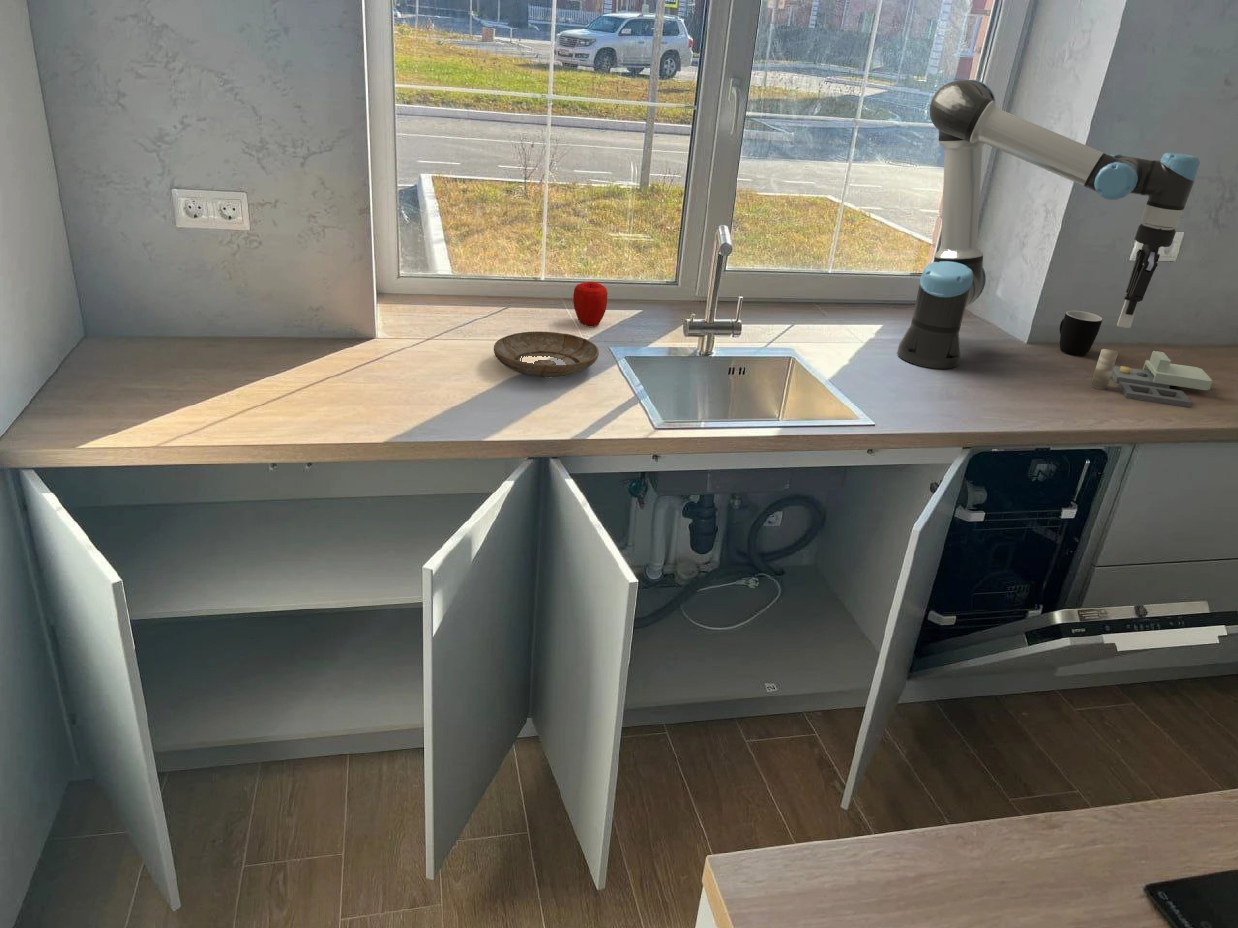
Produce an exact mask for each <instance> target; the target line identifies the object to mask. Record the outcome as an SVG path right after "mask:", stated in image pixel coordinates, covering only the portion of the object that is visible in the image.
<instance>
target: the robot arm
mask: <svg viewBox="0 0 1238 928" xmlns="http://www.w3.org/2000/svg"><path fill="white" fill-rule="evenodd" d="M929 118H930V120H931V123H932V124H933V126H934V127H935V129H936V130H938V144H939V145H941V147H943V149H944V161H943V163H944V164H943V182H942V183H943V186H942V187H943V189H942V210H941V213H942V215H941V235H940V237H941V239H940V240H941V241H940V244H941V245H940V248H939V250H938V251H937V252H936V253H935V254H934V257H933V262H930V263H928V264H927V265H926V266H925V267H924V268H923V271H922V274H921V275H920V278H919V279H920V280H919V285H918V291H917V296H916V301H915V305H914V310H913V313H912V318H911V322H910V324H909V327H908V329H907V331H906V332H905V334H904V335H903V337H902V339H901V341H899V344H898V346H897V352H896V355H897V354H898V355H899V356H900V357H901V358H902V360H903V359H904V360H903V361H905V360H906V361H905V362H908V363H909V362H910V364H912V363H913V365H916V366H920V367H924V368H930V369H937V370H938V369H943V370H944V369H947V370H948V369H952V368H956V367H958V366H959V364H960V361H961V356H962V353H961V341H960V340H961V339H960V330H961V326H962V323H963V318H964V314H965V311H966V308H967V307H969V305H970V304H973V303H974V302H975V301H976V300H977V299H978V298H980V295H981V294H982V293H983V291H984V289H985V286H986V282H987V279H986V278H987V277H986V271H985V269H984V266H983V265H984V253H983V252H982V250H980V248H979V247H978V238H979V237H978V236H979V235H978V233H979V221H980V220H979V217H980V215H979V214H980V200H981V199H980V197H981V196H980V195H981V193H980V192H981V180H982V179H981V178H982V177H981V176H982V158H983V157H982V156H983V147H984V145H988V146H990V147H992V148H995V149H997V150H999V151H1002V152H1004V153H1006V154H1009V155H1011V156H1014V157H1016V158H1018V159H1021V160H1023V161H1025V162H1027V163H1030V164H1032V165H1034V166H1037V167H1039V168H1041V169H1044V170H1046V171H1048V172H1051V173H1053V174H1055V175H1057V176H1060V177H1062V178H1065V179H1066V180H1069V181H1071V182H1073V183H1076V184H1078V185H1080V186H1083V187H1085V188H1087V189H1089V190H1091V191H1094V192H1096V194H1098V195H1099V196H1100V197H1102V198H1104V199H1105V200H1109V201H1111V200H1112V201H1114V200H1116V201H1117V200H1119V199H1123V198H1126V197H1127V196H1128V195H1130V194H1133V195H1140V196H1148V198H1147V202H1146V204H1145V206H1144V209H1143V213H1142V216H1141V219H1140V222H1141V224H1140V225H1138V228H1137V230H1136V234H1135V237H1134V240H1135V241H1136V242H1138V243H1140V244H1142V246H1141V249H1139V248H1138V250H1137V252H1136V257H1135V261H1134V264H1133V267H1132V271H1131V274H1130V278H1129V281H1128V285H1127V288H1126V290H1125V292H1126V294H1125V296H1124V302H1123V305H1122V308H1121V312H1120V315H1119V317H1118V320H1117V323H1116V326H1117V327H1120V328H1126V329H1131V327H1132V324H1133V321H1134V318H1135V316H1136V312H1137V310H1138V307H1139V305H1140V302H1142V301H1144V298H1145V294H1146V292H1147V289H1148V287H1149V285H1150V282H1151V280H1152V278H1153V275H1154V273H1155V272H1156V271H1155V270H1156V269H1157V267H1158V266H1159V265H1158V262H1159V259H1160V253H1159V251H1160V248H1161V247H1163V248H1168V247H1170V246H1172V244H1173V241H1174V238H1175V235H1176V233H1177V231H1176V228H1177V227H1178V226H1179V223H1180V219H1184V217H1185V213H1183V212H1184V210H1185V206H1186V204H1187V203H1188V202H1187V201H1188V199H1189V197H1190V193H1191V191H1192V189H1193V187H1194V186H1193V185H1194V182H1195V180H1196V177H1197V174H1198V171H1199V166H1200V162H1201V161H1200V159H1199V157H1197V156H1195V155H1191V154H1186V153H1179V152H1177V153H1176V152H1165V153H1164V154H1163V155H1162V157H1161V158H1160V160H1153V159H1145V158H1138V157H1132V156H1125V155H1122V154H1110V153H1108V154H1107V153H1104V152H1102V151H1100V150H1098V149H1095V148H1093V147H1091V146H1089V145H1086V144H1084V143H1081V142H1079V141H1076V140H1074V139H1072V138H1070V137H1067V136H1065V135H1062V134H1061V133H1059V132H1055V131H1054V130H1050V129H1048V128H1046V127H1043V126H1042V125H1039V124H1036V123H1034V122H1031V121H1028V120H1026V119H1025V118H1023V117H1022V118H1021V117H1020V116H1017V115H1014V114H1012V113H1010V112H1008V111H1005V110H1003V109H1001V108H998V107H997V102H996V98H995V94H994V91H993V90H992V89H991V87H989V86H988V85H987V84H986V83H984V82H982V81H979V80H977V79H965V80H954V81H950V82H948V83H946V84H943V86H941V87H940V88H939V89H938V90H937V91H936V92H935V93H934V95H933V97H932V99H931V101H930V105H929ZM898 355H897V356H898ZM899 356H898V357H899ZM900 357H899V358H900ZM901 358H900V359H901Z"/></svg>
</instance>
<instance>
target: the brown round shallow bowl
mask: <svg viewBox="0 0 1238 928" xmlns="http://www.w3.org/2000/svg"><path fill="white" fill-rule="evenodd" d="M493 353H494V356H495V357H496V359H497V360H498V362H500V363H501V364H502V365H504V366H505V367H507V368H509V369H510V370H513V371H514V372H516V373H520V374H522V375H526V376H530V377H535V376H536V377H538V378H546V377H547V378H549V377H552V378H560V377H561V378H562V377H567V376H572V375H575V374H578V373H580V372H582V371H584V370H586V369H588V368H590V367H591V366H593V365H594V364H595V362H596V361H597V360H598V358H599V356H600V355H599V353H600V351H599V348H598V347H597V345H596V344H594V342H592V341H590V340H588V339H586V338H584V337H581V336H578V335H574V334H569V333H563V332H555V331H540V330H539V331H523V332H517V333H513V334H509V335H507V336H504V337H501V338H499V339H498V340H497V341H495V343H494V344H493ZM521 356H522V358H523V357H524V356H525V357H526V356H527V357H528V356H532V357H534V356H535V357H537V356H542V357H544V356H546V357H548V356H550V357H554V358H557V360H558V359H561V360H563V362H565V364H566V365H556V363H555V362H554V361H551V360H538V361H535V362H534V364H533V363H527V362H522V358H521ZM520 358H521V361H520ZM536 377H535V378H536ZM547 378H546V379H547Z"/></svg>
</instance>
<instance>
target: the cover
mask: <svg viewBox="0 0 1238 928" xmlns="http://www.w3.org/2000/svg"><path fill="white" fill-rule="evenodd" d="M1171 362H1172V360H1171V359H1170V358H1169V357H1168V356H1167V354H1166V353H1165V352H1162V351H1156V350H1152V353H1151V356H1150V358H1149V359H1146V360H1145V361H1144V364H1143V368H1142V370H1146V371H1151V372H1152V374H1153V375H1154V376H1155V377H1154V379H1153V383H1160V384H1167V385H1170V386H1175V387H1182V388H1188V389H1193V390H1202V391H1210V389H1211V386H1212V384H1213V381H1214V380H1213V379H1212V378H1211V377H1210V376H1209V375H1208V374H1207V373H1206V372H1205V371H1204V369H1202V368H1200V367H1197V366H1191V365H1184V364H1176V363H1171Z"/></svg>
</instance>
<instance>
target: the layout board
mask: <svg viewBox="0 0 1238 928" xmlns="http://www.w3.org/2000/svg"><path fill="white" fill-rule="evenodd" d="M1154 377H1155V376H1154V375H1153V374H1152V372H1151V371H1149V370H1143V369H1138V368H1131V367H1129V366H1124V365H1120V366H1118V365H1117V366H1116V365H1114V367H1113V370H1112V374H1111V378H1112V379H1113V381H1114V382H1115V384H1116V383H1117V384H1119V382H1127V383H1133V384H1140V385H1147V386H1153V387H1160V388H1167V389H1171V388H1170V387H1171V385H1167V384H1160V383H1153V379H1154Z"/></svg>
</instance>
